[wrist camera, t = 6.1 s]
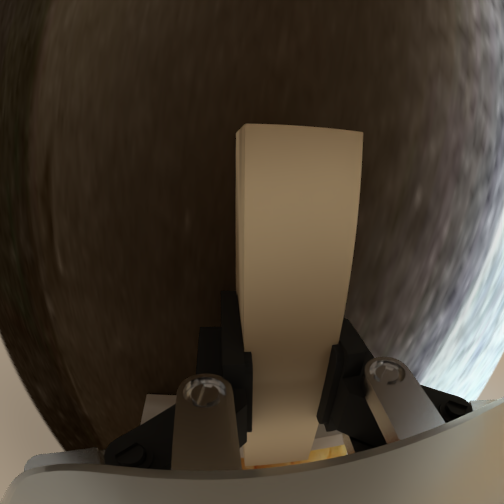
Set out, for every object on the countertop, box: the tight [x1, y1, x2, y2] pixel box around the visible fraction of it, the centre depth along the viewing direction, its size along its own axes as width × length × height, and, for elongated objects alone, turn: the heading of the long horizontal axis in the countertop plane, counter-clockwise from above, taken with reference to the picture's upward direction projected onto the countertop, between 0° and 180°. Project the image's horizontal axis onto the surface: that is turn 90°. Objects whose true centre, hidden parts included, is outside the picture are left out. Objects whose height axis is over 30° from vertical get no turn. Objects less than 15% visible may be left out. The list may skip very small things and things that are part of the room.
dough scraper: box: [140, 124, 363, 466], centre depth 9 cm, size 12×11×4 cm
